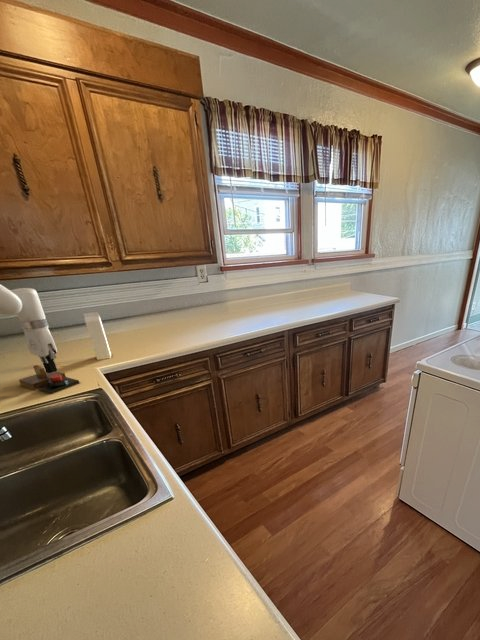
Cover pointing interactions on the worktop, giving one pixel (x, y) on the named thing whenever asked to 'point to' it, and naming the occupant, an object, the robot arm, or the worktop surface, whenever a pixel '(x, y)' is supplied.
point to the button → (56, 378)
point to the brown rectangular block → (40, 371)
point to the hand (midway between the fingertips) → (51, 371)
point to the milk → (97, 335)
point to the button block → (58, 385)
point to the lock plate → (37, 380)
